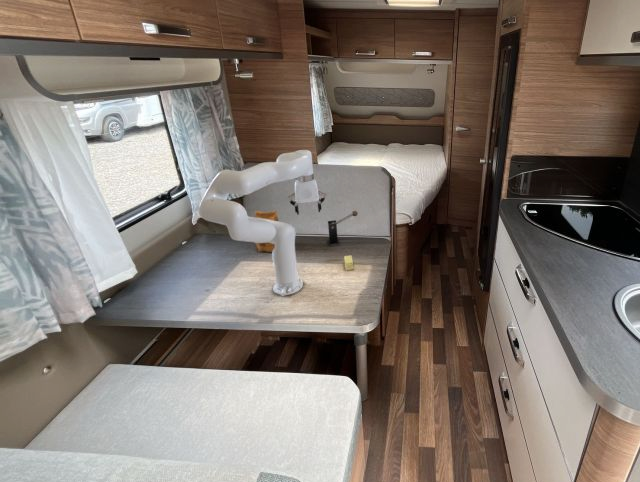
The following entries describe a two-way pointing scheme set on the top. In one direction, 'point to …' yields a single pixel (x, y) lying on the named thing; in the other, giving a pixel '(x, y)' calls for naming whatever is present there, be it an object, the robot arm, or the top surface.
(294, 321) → the top surface
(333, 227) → the slicer
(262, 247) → the coffee package
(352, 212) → the lever
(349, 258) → the butter
